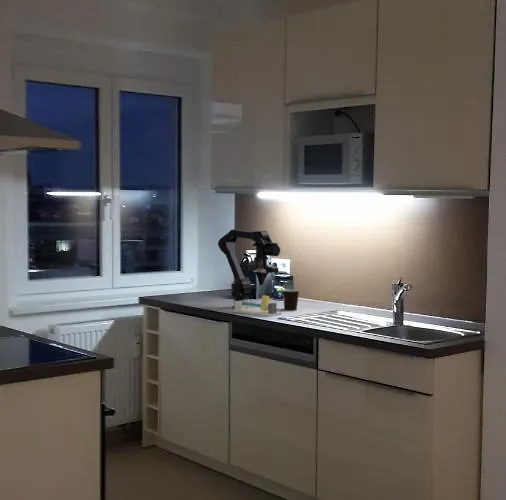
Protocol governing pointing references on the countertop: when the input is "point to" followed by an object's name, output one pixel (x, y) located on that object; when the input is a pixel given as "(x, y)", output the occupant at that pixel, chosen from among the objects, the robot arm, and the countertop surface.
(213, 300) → the countertop surface
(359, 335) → the countertop surface
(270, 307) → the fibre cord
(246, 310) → the cable comb
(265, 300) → the sleeve
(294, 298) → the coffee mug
